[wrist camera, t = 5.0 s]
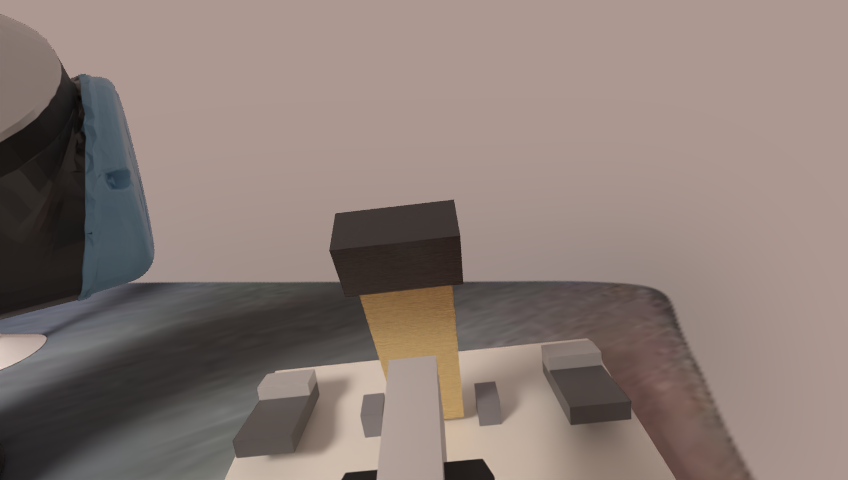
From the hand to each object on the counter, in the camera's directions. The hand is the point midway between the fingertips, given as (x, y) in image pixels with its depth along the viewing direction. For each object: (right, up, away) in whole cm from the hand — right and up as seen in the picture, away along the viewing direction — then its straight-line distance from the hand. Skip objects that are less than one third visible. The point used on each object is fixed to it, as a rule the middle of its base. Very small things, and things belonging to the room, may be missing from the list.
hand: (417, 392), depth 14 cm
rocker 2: (+9, -3, +10) cm, 14 cm away
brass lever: (+1, -5, +10) cm, 11 cm away
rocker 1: (-8, -5, +10) cm, 14 cm away
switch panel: (+1, -7, +11) cm, 13 cm away
